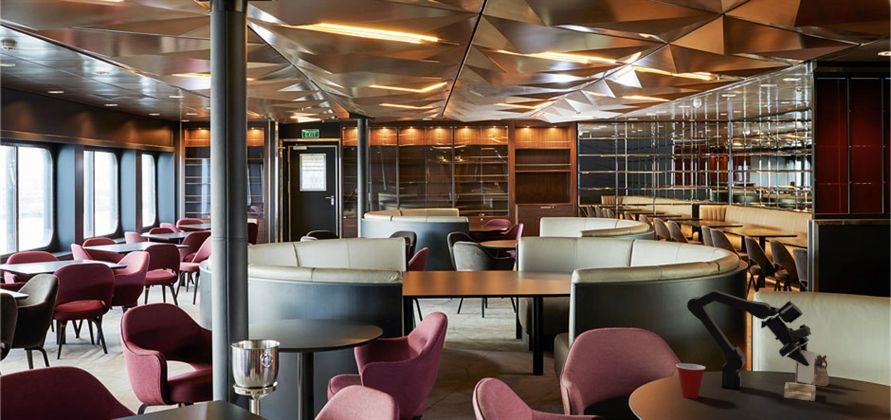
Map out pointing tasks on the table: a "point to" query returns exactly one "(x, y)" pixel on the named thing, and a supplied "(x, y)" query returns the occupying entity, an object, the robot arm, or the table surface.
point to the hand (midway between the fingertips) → (810, 364)
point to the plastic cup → (690, 379)
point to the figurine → (820, 371)
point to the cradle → (799, 389)
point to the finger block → (806, 368)
